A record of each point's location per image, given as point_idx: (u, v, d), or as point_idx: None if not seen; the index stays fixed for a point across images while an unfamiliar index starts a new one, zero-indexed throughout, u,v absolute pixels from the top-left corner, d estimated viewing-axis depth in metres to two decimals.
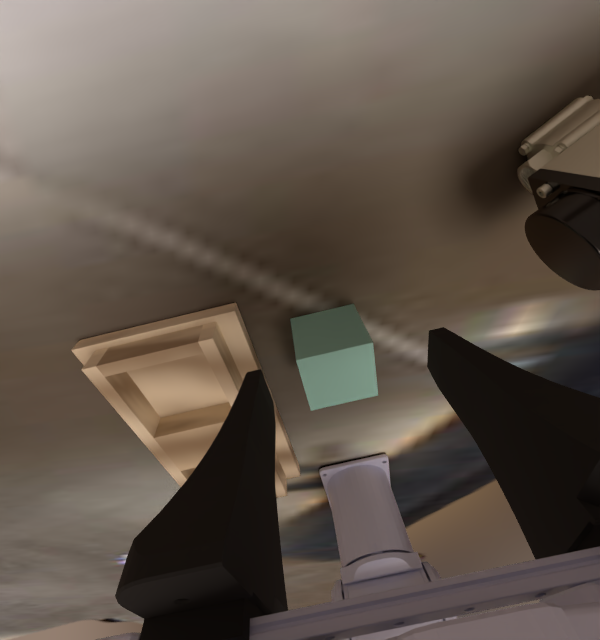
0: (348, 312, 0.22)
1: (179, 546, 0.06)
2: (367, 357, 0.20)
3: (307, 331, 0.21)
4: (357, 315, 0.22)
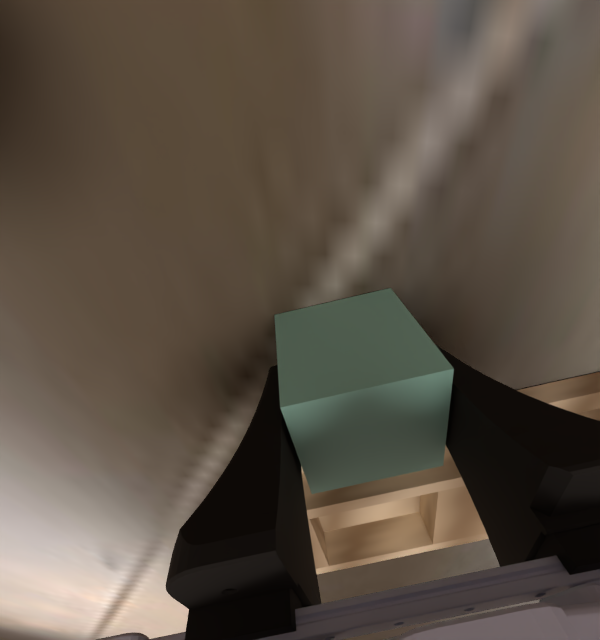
0: None
1: (230, 536, 0.06)
2: (321, 409, 0.09)
3: None
4: None
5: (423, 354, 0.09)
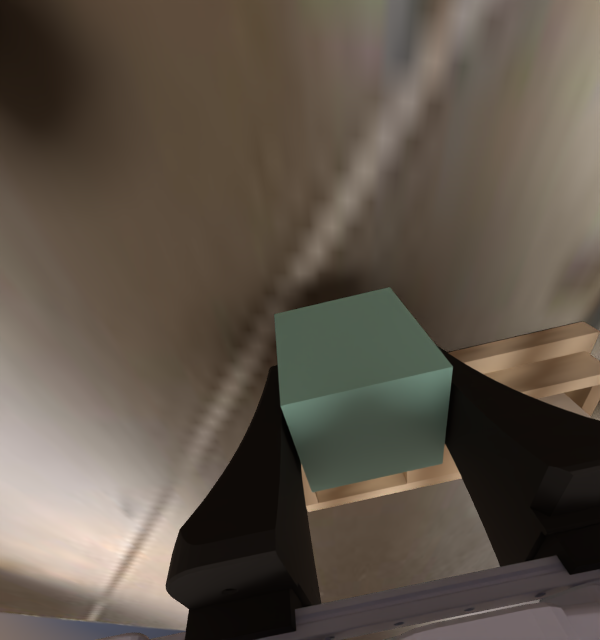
0: None
1: (229, 536, 0.06)
2: (321, 407, 0.09)
3: None
4: None
5: (422, 352, 0.09)
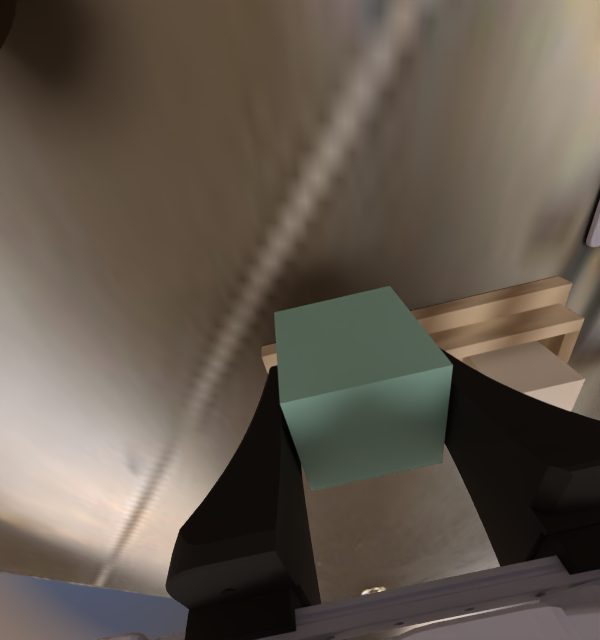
0: None
1: (229, 536, 0.06)
2: (321, 405, 0.09)
3: None
4: None
5: (422, 351, 0.09)
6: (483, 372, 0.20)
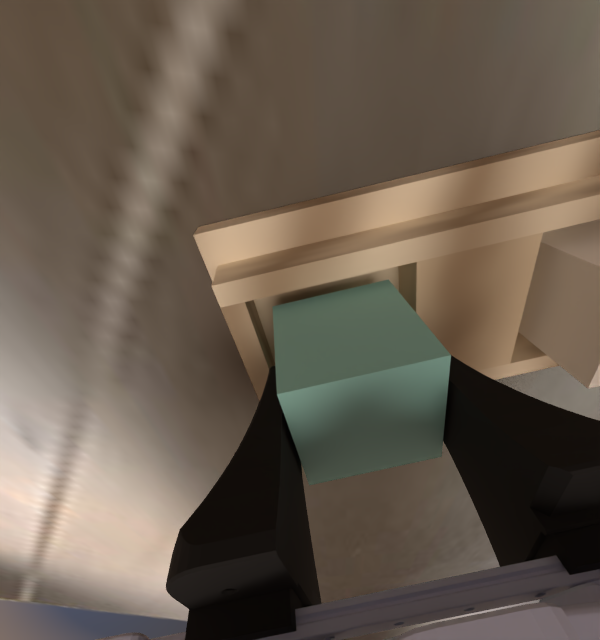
0: None
1: (230, 535, 0.06)
2: (318, 396, 0.09)
3: None
4: None
5: (420, 342, 0.09)
6: (579, 257, 0.12)
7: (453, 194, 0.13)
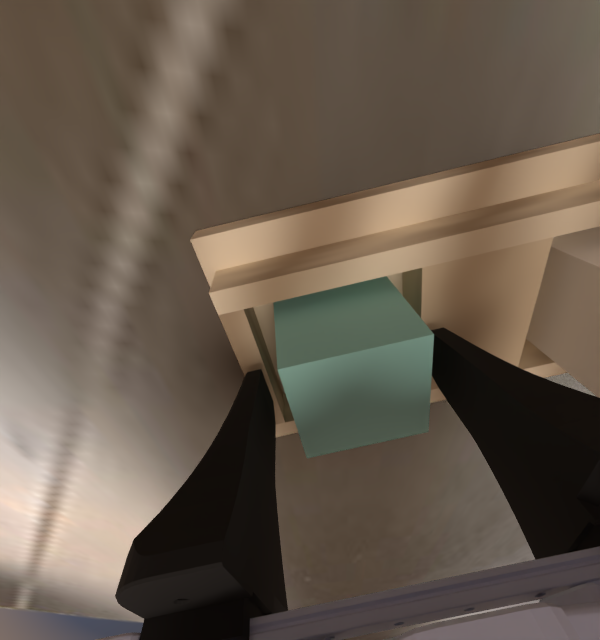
0: None
1: (179, 546, 0.06)
2: (314, 372, 0.10)
3: None
4: None
5: (407, 323, 0.10)
6: (591, 263, 0.11)
7: (459, 197, 0.12)
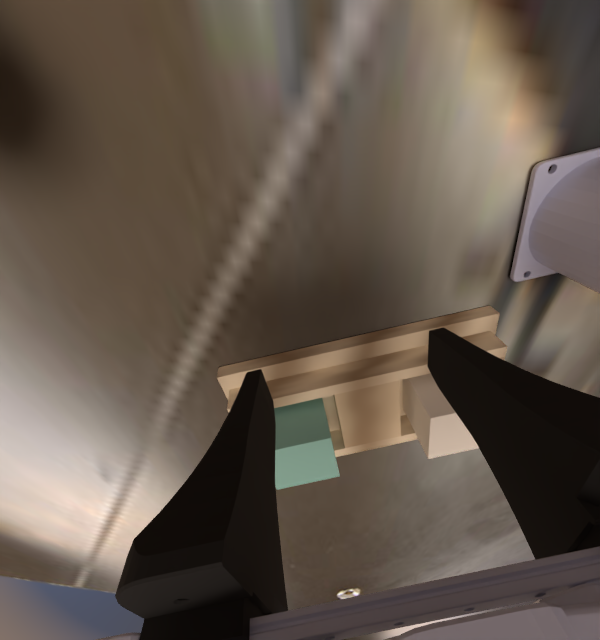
0: None
1: (179, 546, 0.06)
2: (277, 453, 0.21)
3: None
4: None
5: (321, 429, 0.21)
6: (417, 394, 0.22)
7: (356, 354, 0.23)
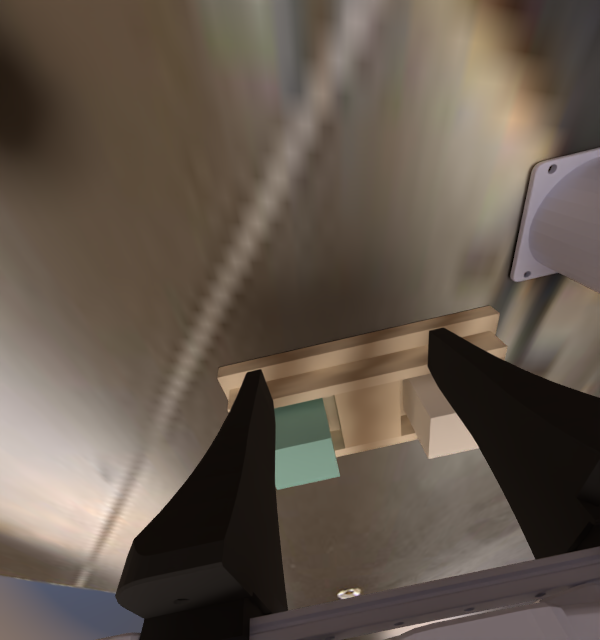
0: None
1: (179, 547, 0.06)
2: (277, 453, 0.21)
3: None
4: None
5: (321, 429, 0.21)
6: (417, 394, 0.22)
7: (356, 354, 0.23)
